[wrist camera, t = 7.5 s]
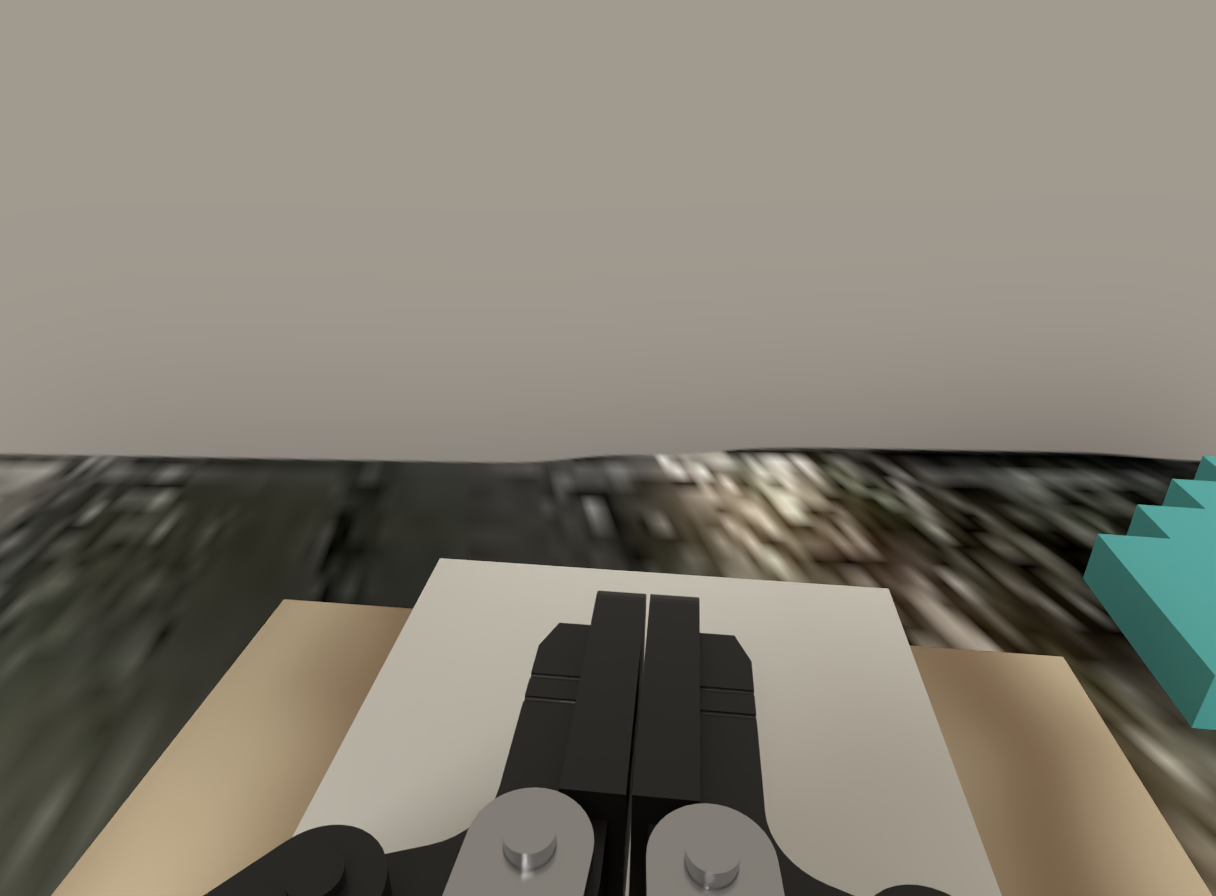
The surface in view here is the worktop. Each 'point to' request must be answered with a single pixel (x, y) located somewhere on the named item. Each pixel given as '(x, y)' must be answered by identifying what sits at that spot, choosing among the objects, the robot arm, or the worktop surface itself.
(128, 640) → the worktop surface
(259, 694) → the tan flat rectangular board
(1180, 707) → the alien figure
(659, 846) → the robot arm
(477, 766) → the tile
